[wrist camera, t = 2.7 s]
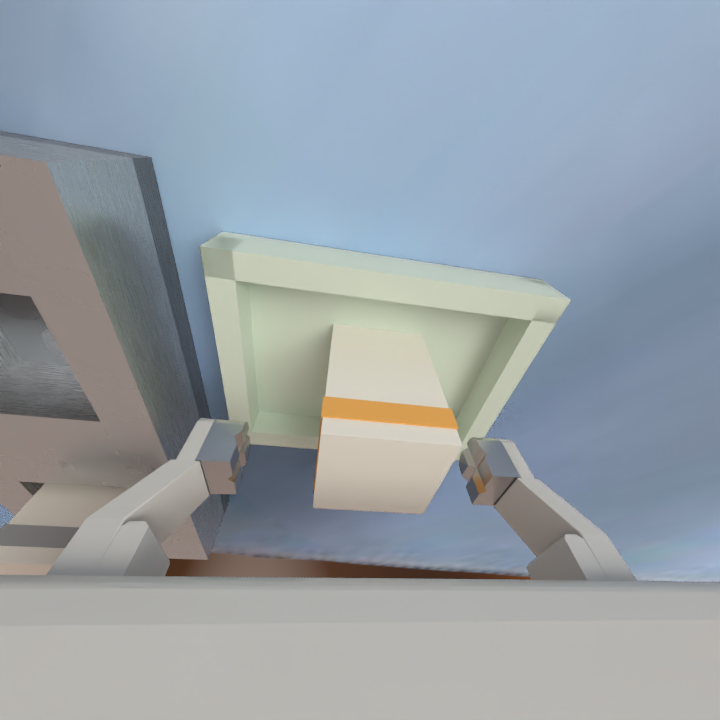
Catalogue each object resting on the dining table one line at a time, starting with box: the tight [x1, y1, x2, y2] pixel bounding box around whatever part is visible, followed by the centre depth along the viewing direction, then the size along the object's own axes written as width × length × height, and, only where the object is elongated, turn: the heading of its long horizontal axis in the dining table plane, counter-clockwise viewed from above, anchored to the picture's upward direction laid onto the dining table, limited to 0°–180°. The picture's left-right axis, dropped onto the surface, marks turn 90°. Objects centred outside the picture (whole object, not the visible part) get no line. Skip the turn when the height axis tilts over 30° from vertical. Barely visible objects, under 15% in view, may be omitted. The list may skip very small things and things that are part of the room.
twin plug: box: [0, 483, 129, 575], centre depth 15 cm, size 4×4×6 cm
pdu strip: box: [0, 131, 229, 560], centre depth 14 cm, size 9×22×4 cm, turn 171°
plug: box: [313, 324, 463, 514], centre depth 11 cm, size 4×4×6 cm
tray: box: [200, 231, 571, 460], centre depth 14 cm, size 13×10×2 cm
